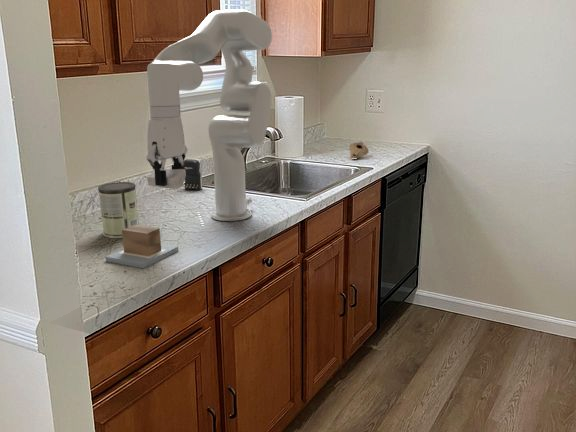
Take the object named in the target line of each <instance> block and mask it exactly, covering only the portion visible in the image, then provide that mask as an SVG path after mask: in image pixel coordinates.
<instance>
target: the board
mask: <svg viewBox="0 0 576 432" xmlns="http://www.w3.org/2000/svg"><path fill="white" fill-rule="evenodd" d="M177 252H179V246H178V245H171V244H164V243H161V251H159V252H157V253H155V254H153V255H151V256H143V255H138V254H132V253H126V252H124V248H123V249H120V250H118V251H115V252H114V253H111V254H109V255H106V256H105V261H106V262H109V263H114V264H119V265H123V266H124V265H125V266H128V267H129V266H130V267H133V268H134V267H136V268H141V269H145V268H147V267H149V266H151V265H154V264H155V263H157V262H160V260H162V259H165V258H167V257H169V256H171V255H173V254H175V253H177Z"/></svg>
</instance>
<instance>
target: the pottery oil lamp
mask: <svg viewBox="0 0 576 432" xmlns="http://www.w3.org/2000/svg"><path fill="white" fill-rule="evenodd" d="M348 148H349V152H350V159H351V158H358V157H359V158H361V157H364V156H366V155H367V154H369V148H368V147H367V146H366V145H365V144H364V142H362V141H359V142H353V143H351V144H349V147H348ZM359 158H358V159H359Z"/></svg>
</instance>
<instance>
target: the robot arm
mask: <svg viewBox="0 0 576 432" xmlns="http://www.w3.org/2000/svg"><path fill="white" fill-rule="evenodd" d="M272 40H273V32H272V29H271V27H270V25H269V23H268V22H267V21H265V20H264V19H263V18H261V17H260V16H258V15H256V14H255V13H253V12H251V11H249V10H245V9H224V10H221V9H220V10H214V11H212V12H211V13H209V14H208V15H207V16H206V17H205V18H204V20H203V21H202V22H201V23H200V24H199V25H198V27H197V28H196V29H195V30H194V32H193V33H192V34H191V35H189V36H187V37H185V38H182V39H181V40H178V41H177V42H175V43H172V44H170V45H168V47H165V48H164V49H163V50H161V51H160V52H159V53H158V54H157V56H156V57H155V58H154V59H153V60H152V61H151V63H149V64H148V65H147V68H146V72H147V73H146V74H147V87H148V88H147V89H148V103H149V116H150V119H148V123H147V132H146V133H147V141H146V142H147V155H146V157H145V158H146V161H147V162H148V163H149V164H150V166H151V167H152V170H153V171H154V173H155V184H156V185H158V186H166V185H167V178H166V170H164V169H165V166H166V163H167V162H166V161H167V160H168V159H170V160H171V162H172V164H171V170H173V169H183V166H182V165H184V160H186V159H185V158H186V155H187V153H188V147H187V146H186V145H185V132H184V127H183V122H182V117H181V115H182V114H181V113H182V112H181V102H180V101H181V100H180V91H183V92H184V91H187V92H188V91H195V90H197V89H199V87H200V86H201V85H202V83H203V81H204V73H203V72H204V71H203V69H202V68H201V66H200V65H202V64H205V63H207V62H209V61H213V60H214V59H215V58H216V57H217V55H218V54H219V53H220V51H221V53H222V56H223V59H224V63H225V71H224V75H223V81H222V85H221V90H220V95H219V96H220V97H219V105H220V107H221V109H222V110H223V111H225V112H226V113H227V112H228V113H232V114H220V115H215V116H214V117H213V118H212V119H211V120H210V121H209V123H208V128H207V130H208V138H209V140H210V145H211V150H212V159H213V178H214V193H215V194H214V195H215V196H214V199H215V210H213V211H212V212H210V214H211V216H210V217H211V218H212V219H213V220H216V221H220V222H236V221H237V222H238V221H242V220H247V219H249V218H250V217H251V216H252V211H251V210H250V209H249V208H247V207H248V206H249V205H251V204H252V203H253V199H252V198H251V197H248V198H247V197H246V195H247V192H246V168H245V167H246V165H245V158H244V156H243V154H242V152H241V150H240V148H249V149H250V148H251V149H255V148H259V147H261V146H262V145H263V144H264V142H265V140H266V135H267V130H268V125H269V120H270V114H271V109H272V108H271V107H272V100H273V99H272V97H273V96H272V91H271V88H270V87H269V86H268V84H266V83H265V82H264V81H263V82H262V81H252V80H253V74H254V68H253V65H252V63H251V61H250V60H249V58H248V57H247V55H246V54H245V53H244V51H264V50H266V49H268V48H269V46H271V43H272ZM239 114H241V115H239ZM242 114H249V115H242Z"/></svg>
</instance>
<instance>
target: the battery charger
mask: <svg viewBox="0 0 576 432" xmlns="http://www.w3.org/2000/svg"><path fill="white" fill-rule="evenodd" d="M182 166H183V169H185V171H186V177H185V180H184V189H185V190H187V189H194V190H193V191H199V189H200V190H203V183H202V182H203V176H202V175H203V173H202V171H203V170H202V169H203V167H202V162H201V161H200V159H196V158H186V159H184V165H182Z"/></svg>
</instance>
